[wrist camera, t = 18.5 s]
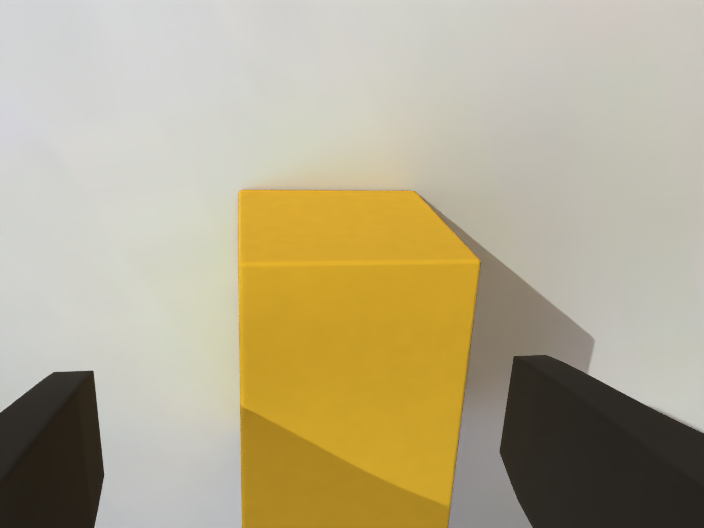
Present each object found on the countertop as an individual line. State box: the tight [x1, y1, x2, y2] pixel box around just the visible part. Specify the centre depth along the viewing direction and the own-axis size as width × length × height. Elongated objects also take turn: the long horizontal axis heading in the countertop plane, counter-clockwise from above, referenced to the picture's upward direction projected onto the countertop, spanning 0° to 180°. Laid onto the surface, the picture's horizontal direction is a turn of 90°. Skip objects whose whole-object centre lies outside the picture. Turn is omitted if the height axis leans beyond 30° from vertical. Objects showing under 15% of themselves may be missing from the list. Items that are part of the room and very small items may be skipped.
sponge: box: [238, 190, 481, 528], centre depth 15 cm, size 4×7×5 cm, turn 178°
